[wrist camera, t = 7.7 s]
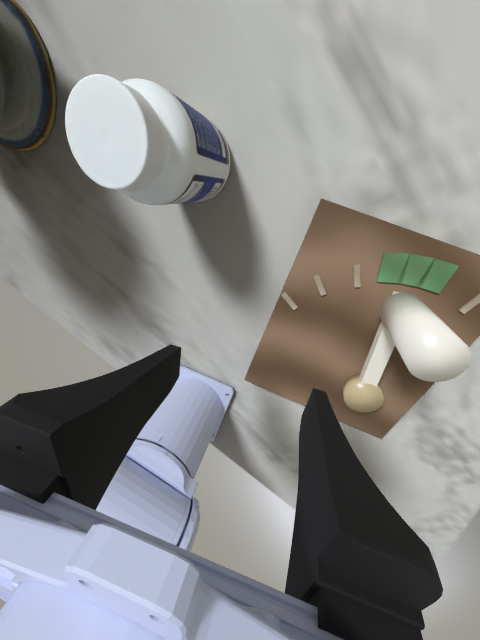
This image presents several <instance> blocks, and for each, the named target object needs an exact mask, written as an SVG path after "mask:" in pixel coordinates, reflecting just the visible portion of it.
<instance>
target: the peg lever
mask: <svg viewBox="0 0 480 640" xmlns="http://www.w3.org/2000/svg"><path fill="white" fill-rule="evenodd" d="M379 316H380V318H381V320H382V321H381V323H380V326H379V328H378V331H377V333H376V336H375V338H374V341H373V343H372V346H371V348H370V351H369V354H368V356H367V359H366V361H365V364H364V366H363V369H362V371H361V374H360V375H354V376H352V377H350V378H348V379H347V380H346V381H345V382H344V384H343V388H342V389H343V396H344V401H345V403H346V405H347V406H348V407H349V408H351V409H352V410H355V411H357V412H372V411H375V410H377V409H378V408H380V407H381V405H382V404H383V402H384V396H383V393H382V390H381V387H380V384H379V380H380V378H381V376H382V374H383V371H384V369H385V367H386V365H387V362H388V360H389V358H390V356H391V353H392V351H393V349H394V347H395V346H396V348H397V350H398V352H399V353H400V355H401V357H402V359H403V361H404V363H405V365H406V366H407V368H408V370H409V371H410V373H411V374H412V375H414V376H415V377H417V378H418V379H421V380H424V381H429V382H440V381H446V380H450V379H452V378H454V377H456V376H458V375H460V374H461V373H462V372H464V371H465V370H466V368H467V367H468V365H469V364H470V361H471V352H470V349H469V347H468V346H467V345H466V344H465V343H464V342H463V341H462V340H461V339H460V338H459V337H458V336H457V335H456V334H455V333H454V332H453V331H452V330H451V329H450V328H449V327H448V326H447V325H446V324H445V323H444V322H443V321H442V320H441V319H440V318H439V317H438V316H437V315H436V314H435V313H434V312H433V311H432V310H431V309H430V308H429V307H427V306H426V305H425V304H424V303H423V302H422V301H421V300H420V299H419V298H418V297H417V296H416V295H414V294H412V293H408V292H395V291H393V293H392V295H391V296H389V297H387V298H386V299H385V300H384V301H383V302H382V304H381V306H380V308H379Z"/></svg>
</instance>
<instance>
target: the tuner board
mask: <svg viewBox="0 0 480 640" xmlns="http://www.w3.org/2000/svg"><path fill="white" fill-rule="evenodd" d="M393 291H395V292H408V293H412V294H414V295H416V296H417V297H418V298H419V299H420V300H421V301H422V302H423V303H424V304H425V305H426V306H427V307H429V308H430V309H431V310H432V311H433V312H434V313H435V314H436V315H437V316H438V317H439V318H440V319H441V320H442V321H443V322H444V323H445V324H446V325H447V326H448V327H449V328H450V329H451V330H452V331H453V332H454V333H455V334H456V335H457V336H458V337H459V338H460V339H461V340H462V341H463V342H464V343H465V344H466V345H467V346H468V347H469V346H470V345H471V344H472V343H473V342H474V341H475V339H476V338H477V337H478V336H479V335H480V255H478V254H475V253H472V252H470V251H467V250H464V249H461V248H458V247H456V246H453V245H450V244H447V243H444V242H442V241H439V240H436V239H433V238H430V237H428V236H425V235H422V234H419V233H416V232H414V231H411V230H408V229H405V228H402V227H400V226H397V225H394V224H391V223H388V222H386V221H383V220H380V219H377V218H374V217H372V216H369V215H366V214H363V213H360V212H358V211H355V210H352V209H349V208H346V207H344V206H341V205H338V204H335V203H332V202H330V201H327V200H324V199H321V200H320V203H319V205H318V207H317V210H316V212H315V214H314V217H313V219H312V222H311V224H310V226H309V229H308V231H307V233H306V236H305V238H304V240H303V243H302V245H301V247H300V250H299V252H298V254H297V257H296V259H295V261H294V264H293V266H292V269H291V271H290V273H289V276H288V278H287V280H286V283H285V285H284V287H283V290H282V292H281V294H280V297H279V299H278V301H277V304H276V306H275V308H274V311H273V313H272V315H271V318H270V320H269V323H268V325H267V327H266V330H265V332H264V334H263V337H262V339H261V341H260V344H259V346H258V348H257V351H256V353H255V355H254V358H253V360H252V362H251V365H250V367H249V370H248V372H247V374H246V377H245V380H246V381H248V382H251V383H253V384H255V385H258V386H260V387H262V388H265V389H267V390H269V391H272V392H274V393H276V394H279V395H281V396H283V397H286V398H288V399H290V400H293V401H295V402H297V403H299V404H302V405H304V406H306V404H307V402H308V399H309V397H310V395H311V392H312V390H313V388H315V389H318V390H322V391H325V392H326V393H327V396H328V398H329V401H330V404H331V406H332V408H333V411H334V413H335V416H336V418H337V420H339V421H341V422H344V423H346V424H348V425H351V426H353V427H355V428H358V429H360V430H362V431H365V432H367V433H369V434H372V435H374V436H376V437H379V438H381V439H382V438H383V437H384V435H385V434H386V433H387V432H388V431H389V430H390V429H391V428H392V427H393V426H394V425H395V424H396V423H397V422H398V421H399V420H400V419H401V418H402V416H403V415H404V414H405V413H406V412H407V411H408V410H409V409H410V408H411V407H412V406H413V405H414V404H415V403H416V402H417V401H418V400H419V399H420V397H421V396H422V395H423V394H424V393H425V392H426V391H427V390H428V389H429V388H430V387H431V386H432V385H433V384H434V383H435V382H429V381H424V380H421V379H418V378H417V377H415V376H414V375H412V374H411V373H410V371H409V370H408V368H407V366H406V365H405V363H404V361H403V359H402V357H401V355H400V353H399V352H398V350H397V348H396V346H395V347H394V349H393V351H392V353H391V356H390V358H389V360H388V362H387V365H386V367H385V369H384V371H383V374H382V376H381V378H380V380H379V384H380V387H381V390H382V393H383V396H384V402H383V404H382V405H381V407H380V408H378V409H377V410H375V411H372V412H357V411H355V410H352V409H351V408H349V407H348V406H347V405H346V403H345V401H344V396H343V389H342V388H343V384H344V382H345V381H346V380H347V379H348V378H350V377H352V376H354V375H360V374H361V371H362V369H363V366H364V364H365V361H366V359H367V356H368V354H369V351H370V348H371V346H372V343H373V341H374V338H375V336H376V333H377V331H378V328H379V326H380V323H381V321H382V320H381V318H380V316H379V308H380V306H381V304H382V302H383V301H384V300H385V299H386V298H387V297H389V296H391V295H392V293H393Z"/></svg>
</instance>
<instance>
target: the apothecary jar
mask: <svg viewBox="0 0 480 640" xmlns="http://www.w3.org/2000/svg"><path fill="white" fill-rule="evenodd" d="M55 110H56V90H55V82H54V77H53V73H52V69H51V65H50V61H49V58H48V55H47V52H46V49H45V47H44V45H43V42H42V40H41V38H40V36H39V34H38V32H37V30H36V29H35V27H34V25H33V24H32V22H31V20H30V19H29V17H28V16H27V15H26V13H25V12H24V11H23V9H22V8H21V7H20V6H19V4H18V3H17V2H16V1H15V0H0V144H1V145H2V146H4V147H6V148H9V149H13V150H18V151H27V150H32V149H35V148H37V147H38V146H40V145H41V144H42V143H43V142H44V141H45V140H46V139H47V137H48V135H49V133H50V131H51V129H52V126H53V122H54V118H55Z"/></svg>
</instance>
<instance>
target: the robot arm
mask: <svg viewBox="0 0 480 640" xmlns="http://www.w3.org/2000/svg"><path fill="white" fill-rule="evenodd" d="M180 358H181V347H177V346H174V345H169V346H167V347H165V348H163V349H161V350H159V351H157V352H155V353H153V354H151V355H149V356H147V357H145V358H143V359H141V360H139V361H137V362H135V363H133V364H130V365H128V366H126V367H124V368H121V369H119V370H116V371H114V372H111V373H108V374H106V375H103V376H100V377H97V378H94V379H90V380H87V381H83V382H80V383H76V384H72V385H68V386H63V387H58V388H53V389H48V390H42V391H35V392H29V393H22V394H18V395H17V396H15V397H14V398H12V399H11V400H9V401H8V402H6V403H5V404H3V405H2V406H0V599H2V600H4V601H5V602H6V604H5V605H4V606H3V608H2V609H1V610H0V640H423V639H422V634H421V630H423V629H424V627H425V625H424V620H423V616H422V612H421V610H423V609H425V608H426V607H428V606H429V605H431V604H433V603H434V602H436V601H437V600H438V599H439V598H440V597H441V596H442V592H443V588H442V584H441V581H440V578H439V575H438V571H437V568H436V565H435V562H434V560H433V557H432V555H431V552H430V550H429V547H428V546H427V545H426V544H425V543H424V542H423V541H422V540H421V539H420V538H419V537H418V535H417V534H416V533H415V532H414V531H413V530H412V529H411V528H410V527H409V526H408V524H407V523H406V522H405V521H404V520H403V519H402V518H401V516H400V515H399V514H398V513H397V512H396V510H395V509H394V508H393V507H392V506H391V504H390V503H389V502H388V501H387V499H386V498H385V497H384V496H383V494H382V493H381V492H380V490H379V489H378V488H377V486H376V485H375V483H374V482H373V481H372V479H371V478H370V477H369V475H368V474H367V472H366V471H365V469H364V468H363V466H362V465H361V463H360V461H359V460H358V458H357V456H356V455H355V453H354V451H353V450H352V448H351V446H350V444H349V442H348V440H347V439H346V437H345V435H344V433H343V431H342V429H341V426H340V424H339V422H338V420H337V418H336V416H335V413H334V411H333V408H332V406H331V404H330V401H329V398H328V396H327V393H326V392H325V391H322V390H318V389H315V388H313V390H312V392H311V395H310V397H309V399H308V402H307V404H306V407H305V409H304V412H303V414H302V418H301V425H300V433H299V481H298V495H297V504H296V513H295V522H294V530H293V538H292V546H291V553H290V560H289V568H288V574H287V581H286V588H285V593H283V592H281V591H278V590H276V589H274V588H272V587H269V586H267V585H264V584H262V583H260V582H258V581H256V580H253V579H251V578H249V577H246V576H244V575H242V574H240V573H237V572H235V571H233V570H230V569H228V568H226V567H224V566H221V565H219V564H217V563H214V562H212V561H210V560H208V559H205V558H203V557H201V556H198V555H196V554H194V553H191V552H190V551H191V548H192V546H193V543H194V540H195V537H196V534H197V530H198V526H199V520H200V513H199V502H198V500H197V499H195V498H194V497H193V494H194V492H195V490H196V487H197V485H198V484H197V482H195V481H194V480H193V479H194V477H195V474H196V472H197V469H198V467H199V465H200V462H201V460H202V458H203V455H204V453H205V451H206V448H207V446H208V444H209V442H213V441H214V439H215V437H216V434H217V432H218V430H219V427H220V425H221V422H222V420H223V417H224V415H225V413H226V410H227V408H228V405H229V403H230V400H231V398H232V396H233V393H234V389H233V388H232V387H230V386H227V385H225V384H223V383H220V382H218V381H216V380H214V379H211V378H209V377H207V376H204V375H202V374H200V373H197V372H195V371H193V370H191V369H188V368H186V367H184V366H181V365H180ZM227 394H229V395H227ZM420 629H421V630H420Z"/></svg>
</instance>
